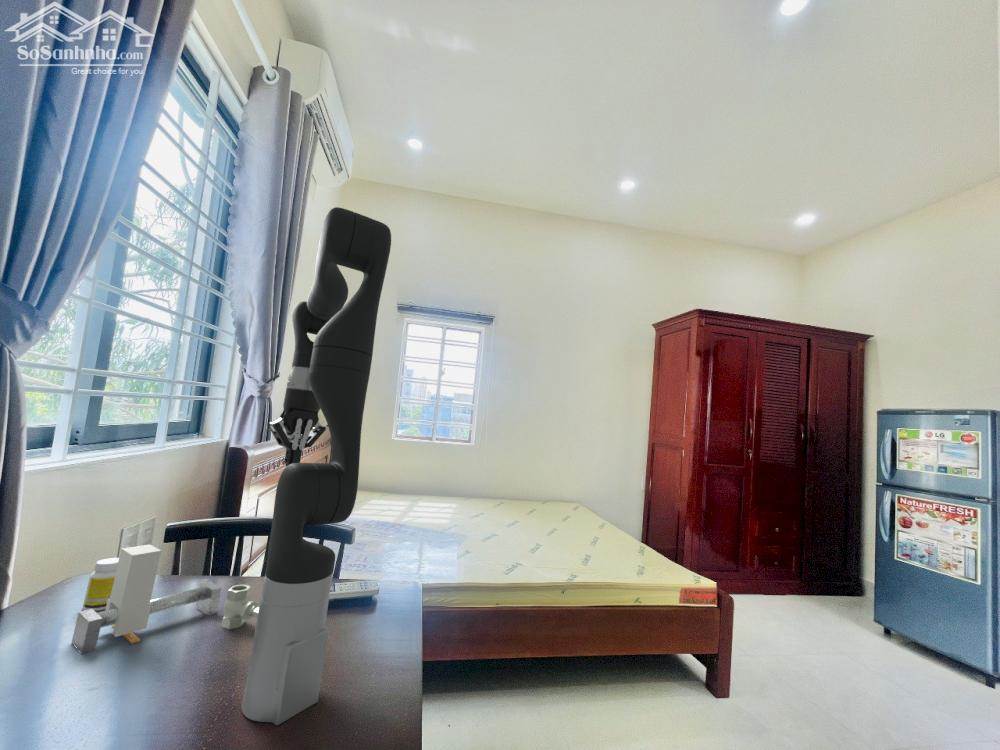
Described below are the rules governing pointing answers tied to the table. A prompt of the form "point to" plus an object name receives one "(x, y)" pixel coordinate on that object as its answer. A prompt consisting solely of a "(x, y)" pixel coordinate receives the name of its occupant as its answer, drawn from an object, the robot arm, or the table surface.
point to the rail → (93, 621)
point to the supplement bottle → (100, 584)
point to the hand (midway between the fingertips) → (291, 466)
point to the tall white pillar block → (133, 588)
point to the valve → (238, 607)
